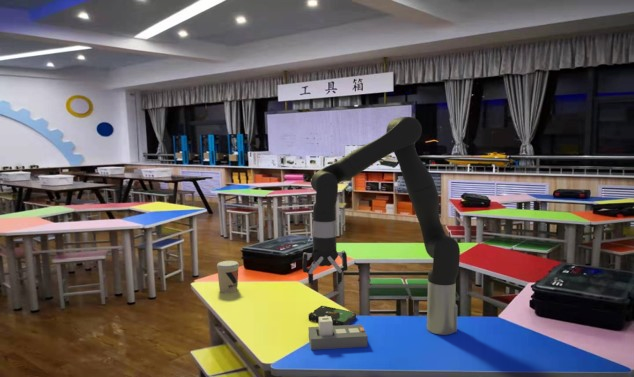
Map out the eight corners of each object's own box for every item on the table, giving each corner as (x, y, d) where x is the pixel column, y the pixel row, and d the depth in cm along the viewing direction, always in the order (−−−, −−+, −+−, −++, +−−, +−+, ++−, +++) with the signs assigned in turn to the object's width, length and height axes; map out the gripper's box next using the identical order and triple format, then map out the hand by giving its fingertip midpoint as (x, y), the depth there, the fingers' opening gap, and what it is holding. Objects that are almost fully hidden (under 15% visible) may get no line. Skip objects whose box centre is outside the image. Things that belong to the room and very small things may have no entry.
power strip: (361, 334, 149) (361, 323, 149) (367, 346, 140) (367, 334, 140) (308, 337, 147) (308, 325, 147) (311, 349, 138) (311, 337, 138)
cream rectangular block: (330, 339, 145) (330, 316, 145) (332, 345, 141) (332, 321, 141) (318, 340, 145) (318, 316, 144) (320, 345, 141) (320, 321, 140)
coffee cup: (229, 294, 188) (228, 267, 187) (213, 290, 193) (212, 264, 192) (243, 288, 196) (242, 262, 195) (227, 284, 201) (227, 259, 200)
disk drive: (308, 321, 161) (344, 329, 154) (307, 314, 161) (344, 321, 154) (321, 312, 170) (356, 318, 163) (321, 305, 170) (356, 311, 163)
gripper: (344, 231, 144) (344, 279, 146) (301, 232, 142) (301, 281, 144) (348, 236, 136) (348, 286, 138) (303, 237, 135) (303, 288, 137)
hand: (324, 283), depth 141 cm, fingers open, 8 cm apart
